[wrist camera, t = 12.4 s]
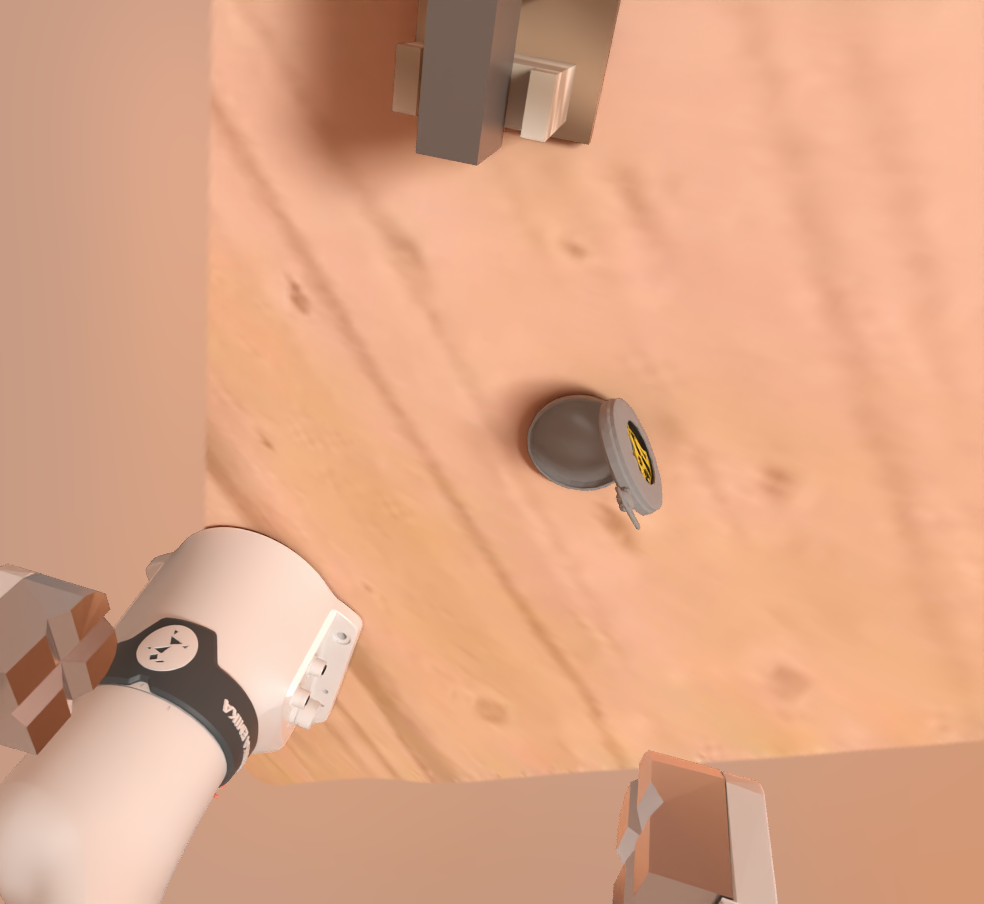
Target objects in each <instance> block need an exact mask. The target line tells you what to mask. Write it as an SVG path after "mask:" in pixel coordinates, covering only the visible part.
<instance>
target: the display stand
mask: <svg viewBox="0 0 984 904" xmlns="http://www.w3.org/2000/svg"><path fill="white" fill-rule="evenodd" d="M427 1H428V0H418V13H417V26H416V40H415V42H410V43H400V44H396V58H395V74H394V90H393V107H392V111H393V112H398V113H403V114H408V115H413V116H417V115H419V104H420V91H421V78H422V65H423V52H424V40H425V27H426V14H427ZM620 1H621V0H522V4H521V11H520V18H519V25H518V32H517V40H516V47H515V54H514V61H513V68H512V75H511V82H510V89H509V96H508V103H507V110H506V117H505V124H504V128H509V129H514V130H519V131H521V136H520V137H521V138H526V139H531V140H536V141H541V142H545V141H546V140H547V139H548V138H549V137H554V138H559V139H563V140H568V141H573V142H578V143H583V144H588V145H589V143H590V142H591V137H592V133H593V128H594V123H595V118H596V114H597V109H598V104H599V100H600V95H601V90H602V85H603V81H604V76H605V71H606V67H607V62H608V57H609V53H610V48H611V43H612V38H613V34H614V29H615V24H616V20H617V15H618V10H619V6H620Z"/></svg>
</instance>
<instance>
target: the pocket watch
mask: <svg viewBox="0 0 984 904" xmlns="http://www.w3.org/2000/svg"><path fill="white" fill-rule="evenodd" d="M527 446H528V452H529V455H530V458H531V460H532V461H533V463H534V465H535V466H536V468H537V469H538V470H539V471H540V473H542V474H543V475H544V476H545V477H546V478H547V479H549V480H550V481H552V482H554V483H555V484H557V485H560V486H562V487H565V488H569V489H575V490H582V491H589V490H597V489H600V488H604V487H607V486H609V485H611V484H612V483H614V482H615V483H616V485H617V487H615V490H616V492H617V496H616V498H617V502H618V504H619V508H620V510H621V511H623V512H627V514H628V515H629V517H630V519H631V521H632V522H633V524H634V526H635V527H636V529H638V530H639V529H640V525H639V523H638V521H637V519H636V517H635V515H634V513H633V511H632V510H633V509H635V510H636V512H638V513H639V514H641V515H642V516H644V515H648V514H651V513H653V512H655V511H656V510H658V509H660V507H661V505H662V484H661V478H660V474H659V470H658V466H657V463H656V459H655V456H654V453H653V451H652V448H651V445H650V442H649V439H648V437H647V435H646V433H645V431H644V429H643V427H642V425H641V423H640V421H639V419H638V418H637V416H636V414H635V412H634V411H633V409H632V408H631V407H630V406H629V405H628V404H627V403H626V402H625V401H624V400H623V399H620V398H617V399H610V400H607V401H605V400H603V399H600V398H597V397H593V396H589V395H570V396H564V397H561V398H558V399H555V400H553V401H552V402H550V403H548V404H547V405H545V406H544V407H543V408H542V409H541V410H540V411H539V412H538V413H537V414H536V416H535V418H534V420H533V422H532V423H531V425H530V427H529V430H528V436H527Z"/></svg>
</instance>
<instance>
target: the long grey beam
mask: <svg viewBox="0 0 984 904" xmlns="http://www.w3.org/2000/svg"><path fill="white" fill-rule="evenodd" d="M521 4H522V0H428V1H427V14H426V27H425V40H424V52H423V65H422V78H421V91H420V104H419V117H418V130H417V143H416V153H418V154H423V155H428V156H433V157H438V158H443V159H448V160H452V161H457V162H462V163H467V164H472V165H478V164H480V163H481V162H482V161H483V160H485V159H486V158H487V157H489V156H490V155H491V154H493V153H494V152H495V151H496V150H498V149H499V148H500V147H501V145H502V138H503V131H504V124H505V117H506V110H507V103H508V96H509V89H510V82H511V75H512V68H513V61H514V54H515V47H516V40H517V32H518V25H519V18H520V11H521Z"/></svg>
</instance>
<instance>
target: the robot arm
mask: <svg viewBox="0 0 984 904" xmlns="http://www.w3.org/2000/svg"><path fill="white" fill-rule="evenodd" d="M146 574H147V577H148V579H149V582H148V583H147V585H146V586H145V587H144V588H143V590H142V591H141V593H140V594H139V595H138V596H137V598H136V599H135V600H134V601H133V603H132V604H131V605H130V607H129V608H128V610H127V611H126V612H125V613H124V615H123V616H122V617H121V619H120V620H119V622H118V623H117V624H116V625H115V627H114V628H113V627H112V626H111V625H110V623H109V622H108V621H107V620H106V619H105V618H104V617H103V616H104V615H105V614H106V613H107V612H108V611H109V610H110V607H109V603H108V600H107V597H106V594H105V593H102V592H98V591H95V590H92V589H88V588H85V587H82V586H79V585H76V584H72V583H69V582H66V581H62V580H59V579H56V578H53V577H49V576H46V575H43V574H41V573H38V572H34V571H31V570H27V569H24V568H21V567H17V566H14V565H10V564H6V565H3V566H0V745H3V746H7V747H10V748H13V749H17V750H20V751H24V752H27V754H26V755H25V756H24V757H23V759H22V760H21V761H20V762H19V763H18V764H17V765H16V766H15V768H14V769H13V770H12V771H11V772H10V773H9V775H8V776H7V777H6V778H5V779H4V780H3V781H2V783H1V784H0V895H1V897H2V899H3V901H4V902H5V904H160V903H161V900H162V898H163V895H164V893H165V890H166V888H167V885H168V883H169V881H170V879H171V877H172V875H173V873H174V870H175V868H176V866H177V864H178V862H179V860H180V858H181V856H182V854H183V852H184V850H185V848H186V846H187V844H188V842H189V840H190V838H191V836H192V834H193V832H194V831H195V829H196V827H197V825H198V823H199V821H200V819H201V818H202V816H203V814H204V812H205V810H206V809H207V807H208V805H209V803H210V802H211V800H212V798H213V797H214V798H219V795H217V794H216V791H217V789H218V788H224V787H225V784H226V783H227V782H228V781H229V780H230V779H231V778H232V776H233V775H234V774H235V773H237V772H238V771H239V770H240V769H241V768H242V766H243V765H244V764H245V762H246V760H247V758H248V757H249V756H250V755H251V754H262V753H270V752H274V751H277V750H279V749H281V748H282V747H283V746H284V745H285V744H286V742H287V740H288V739H289V737H290V735H291V733H292V732H293V730H294V728H295V726H296V725H297V726H299V727H301V728H304V729H306V730H307V729H309V730H310V728H311V727H312V725H313V723H320V722H324V721H325V720H326V719H327V717H328V716H329V714H330V713H331V711H332V708H333V706H334V703H335V700H336V698H337V695H338V692H339V689H340V687H341V684H342V681H343V678H344V676H345V673H346V670H347V668H348V665H349V662H350V659H351V657H352V654H353V651H354V648H355V646H356V643H357V640H358V638H359V635H360V632H361V629H362V626H363V624H362V620H361V619H360V617H359V616H358V615H357V614H356V613H355V612H354V611H353V610H351V609H350V608H349V607H348V606H346V605H345V604H344V603H343V602H341V601H340V600H339V599H337V598H336V597H335V596H334V595H333V593H332V592H331V591H330V589H329V588H328V586H327V585H326V584H325V582H324V581H323V579H322V578H321V577H320V576H319V574H318V573H317V572H316V571H315V570H314V569H313V568H312V567H311V566H310V565H309V564H308V563H307V562H306V561H305V560H304V559H303V558H301V557H300V556H299V555H298V554H296V553H295V552H294V551H292V550H291V549H289V548H288V547H286V546H284V545H283V544H281V543H279V542H277V541H275V540H273V539H271V538H269V537H266V536H264V535H261V534H258V533H255V532H252V531H248V530H244V529H239V528H231V527H216V528H209V529H205V530H201V531H199V532H197V533H195V534H193V535H191V536H190V537H188V538H187V539H186V540H185V541H184V542H183V543H182V544H181V546H180V547H179V548H178V549H177V550H176V551H174V552H172V553H168V554H164V555H161V556H158V557H156V558H154V559H153V560H152V561H151V563H150V564H149V565H148V567H147V568H146ZM616 851H617V853H618V855H619V857H620V859H621V861H622V863H623V865H624V866H623V868H622V869H621V871H620V873H619V875H618V877H617V879H616V881H615V883H614V888H613V889H614V890H613V904H778V902H777V894H776V885H775V877H774V869H773V861H772V852H771V844H770V837H769V828H768V820H767V811H766V804H765V796H764V791H763V789H762V787H761V785H760V783H759V782H757V781H755V780H752V779H747V778H744V777H740V776H737V775H733V774H729V773H725V772H722V771H719V769H716V768H712V767H709V766H705V765H701V764H698V763H694V762H690V761H687V760H683V759H679V758H676V757H672V756H668V755H665V754H661V753H657V752H654V751H650V750H648V751H647V752H646V753H644V755H643V757H642V759H641V761H640V763H639V778H638V779H637V780H635V781H632V782H631V783H630V785H629V787H628V790H627V792H626V794H625V797H624V801H623V805H622V809H621V813H620V819H619V825H618V833H617V846H616Z"/></svg>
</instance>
